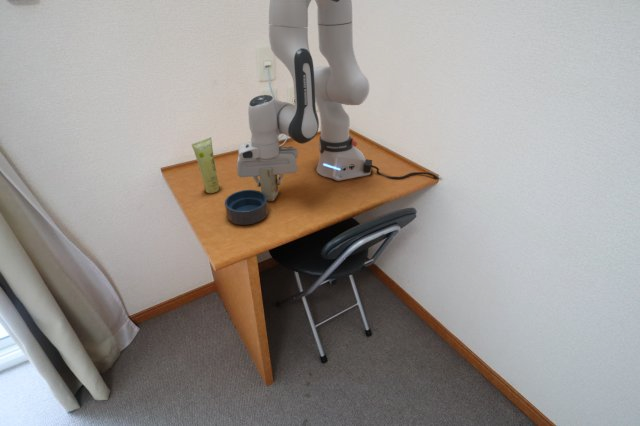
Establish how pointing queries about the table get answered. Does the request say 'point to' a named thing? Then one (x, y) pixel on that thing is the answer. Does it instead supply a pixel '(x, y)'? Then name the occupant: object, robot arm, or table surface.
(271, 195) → the cosmetic box
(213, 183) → the tube
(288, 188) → the table surface
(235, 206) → the bowl
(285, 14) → the robot arm
